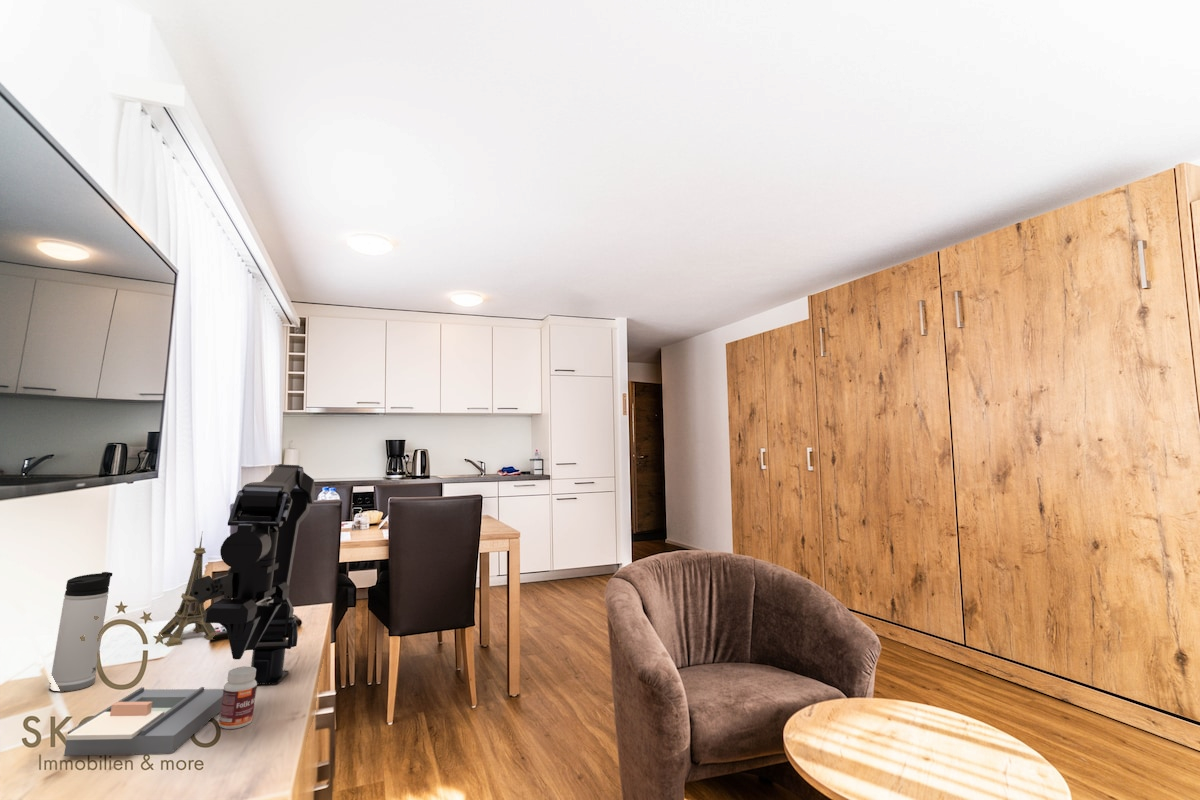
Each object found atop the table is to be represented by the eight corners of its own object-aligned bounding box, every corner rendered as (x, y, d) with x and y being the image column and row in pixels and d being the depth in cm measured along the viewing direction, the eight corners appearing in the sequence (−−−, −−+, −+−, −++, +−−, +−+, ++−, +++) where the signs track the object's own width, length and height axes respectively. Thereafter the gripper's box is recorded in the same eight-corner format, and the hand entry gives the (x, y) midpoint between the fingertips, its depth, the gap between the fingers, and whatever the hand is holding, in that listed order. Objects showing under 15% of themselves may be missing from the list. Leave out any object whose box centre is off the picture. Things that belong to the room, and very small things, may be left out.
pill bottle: (236, 731, 92) (243, 676, 93) (211, 727, 93) (218, 673, 94) (259, 719, 97) (265, 667, 98) (235, 715, 98) (242, 663, 99)
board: (141, 704, 100) (144, 685, 100) (229, 703, 102) (231, 684, 102) (64, 755, 82) (67, 732, 83) (171, 753, 84) (174, 730, 85)
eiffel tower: (167, 647, 130) (183, 534, 133) (154, 636, 136) (169, 529, 139) (220, 638, 138) (234, 532, 141) (205, 628, 144) (219, 527, 147)
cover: (104, 715, 89) (106, 700, 89) (163, 715, 90) (165, 700, 90) (65, 740, 81) (67, 723, 81) (131, 738, 82) (133, 722, 83)
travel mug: (104, 682, 108) (121, 573, 111) (62, 694, 102) (81, 579, 104) (83, 677, 110) (100, 570, 113) (40, 688, 104) (59, 575, 106)
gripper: (230, 549, 106) (219, 637, 104) (173, 566, 88) (158, 673, 86) (295, 551, 108) (284, 637, 106) (252, 568, 89) (238, 673, 87)
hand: (244, 653), depth 96 cm, fingers open, 5 cm apart
